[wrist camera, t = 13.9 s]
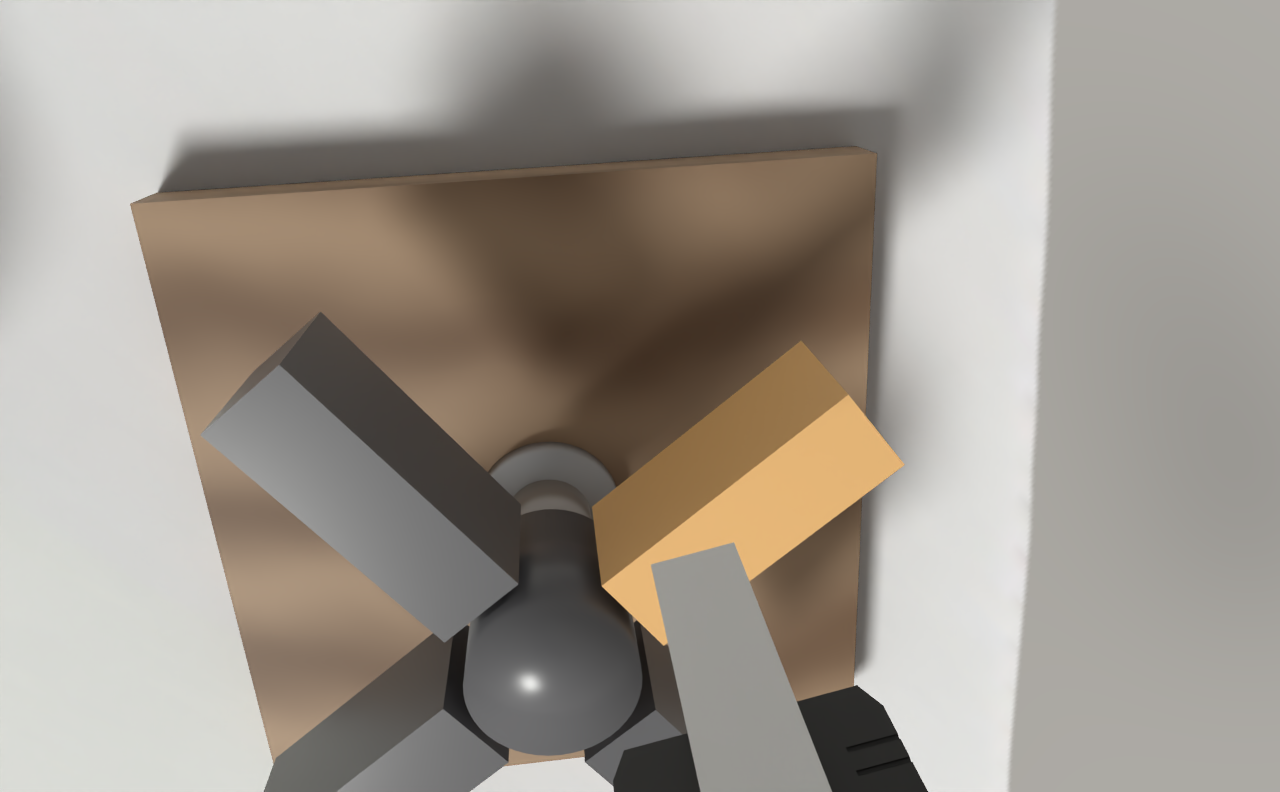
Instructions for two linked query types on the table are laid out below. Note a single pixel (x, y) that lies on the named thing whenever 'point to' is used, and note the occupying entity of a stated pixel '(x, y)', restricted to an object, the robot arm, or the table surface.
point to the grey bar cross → (524, 559)
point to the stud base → (515, 362)
